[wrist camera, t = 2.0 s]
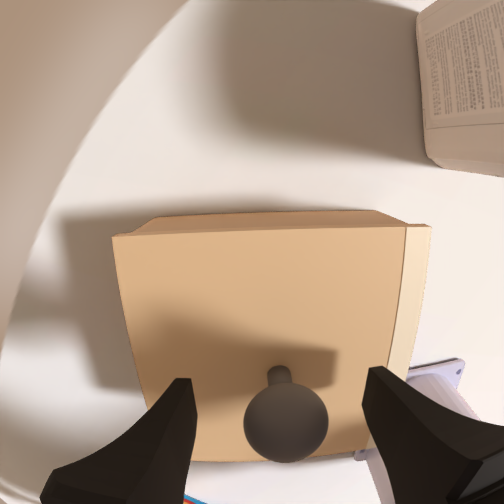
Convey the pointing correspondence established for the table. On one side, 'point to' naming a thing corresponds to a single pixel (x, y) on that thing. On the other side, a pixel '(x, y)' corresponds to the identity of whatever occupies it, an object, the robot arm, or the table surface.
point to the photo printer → (463, 84)
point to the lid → (273, 328)
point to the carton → (267, 220)
